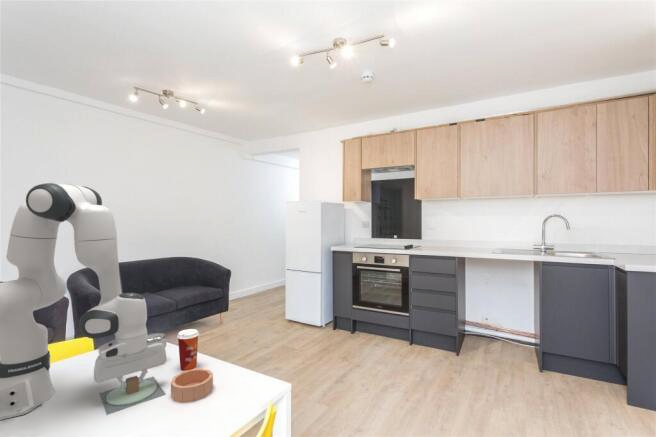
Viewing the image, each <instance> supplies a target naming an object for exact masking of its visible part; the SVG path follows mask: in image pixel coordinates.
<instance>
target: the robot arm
mask: <svg viewBox="0 0 656 437" xmlns="http://www.w3.org/2000/svg"><path fill="white" fill-rule="evenodd" d="M65 221H66V222H68V223H70V224H71V226H72V229H73V236H74V237H73V238H74V239H73V240H74V242H73V243H74V251H75V252H74V253H75V256H76V258H77V262H78V263H80V264H81V265H82V266H84V267H86V268H88V269H90V270H92V271H93V272H95V274H96V275H97V278H98V283H99V291H100V292H99V293H100V297H101V298H100V300H99V304H98V305H96V306H94V307H92V308H90V309H89V310H87V311H86V312H85V313H83V314H82V315H81V317H80V319H79V321H78V328H79V331H80V332H81V334H82V335H83V336H84V337H86V338H89V339H91V340H96V339H100V338H106V337H110V336H113V335H114V336H115V339H112V340H111V341H109V342H107V343H104V344H102V345H101V346H99V347H98V356H97V357H96V359H95V361H94V362H95V363H94V368H93V380H94V382H96V383H99V384H100V383H102V382H106V381H110V380H114V379H117V382H118V383H119V384H120V386H121V389H125V388H127V382H126V380H125V381H123V379H124V376H127V375H131V374H134V373H138V372H141V374H140V376H137V377H138V378H139V384H142V383H143V379H145V376H146V375H147V373H148V370H149V369H152V368H155V367H156V368H157V367H159V366H162V365H165V364H166V362H167V361H168V360H167V351H166V347H167V339H166V337H165V338H162V337H157V338H153V339H148V340H147V335H148V329H147V320H148V308H147V302H146V299H145V297H144V295H142V294H140V293H136V292H125V293H124V292H123V291H124V289H123V284H122V282H123V281H122V277H121V276H122V275H121V269H120V263H119V254H118V236H117V226H116V222H115V217H114V214H113V212H112V210H111V209H110V208H108V207H106V206H104V205H103V201H102V197H101V195H100V194H99V193H98V192H97V191H96V190H94V189H92V188H91V187H88V186H81V185H77V184H71V183H65V184H64V183H52V182H47V183H41V184H37V185H34V186H33V187H31V188H30V189H29V190H28V192H27V194H26V197H25V202H23V203H21V204H19V207H18V208H17V211H16V213H15V215H14V217H13V221H12V224H11V228H10V234H9V238H8V244H7V251H6V256H5V257H6V259H7V262H8V263H9V264H11V265H13V266H15V267H16V268H17V270H18V271H17V272H18V277H17V279H13V280H9V281H2V282H0V421H2V420H5V419H11V418H15V417H19V416H22V415H26V414H29V413H30V412H32V411H33V410H34V409H35V408H37V407H39V406H40V405H42V404H44V403H45V402H47V401H49V400H50V399H51V398H52V397H53V396H55V393H56V391H55V389H54V386H53V383H52V379H51V374H50V369H51V354H50V353H51V352H50V350H49V341H48V340H49V338H48V336H49V334H48V333H49V331H48V328H47V326H45V325H44V324H41V323H38V322H36V319H35V317H34V311H37V310H40V309H44V308H47V307H49V306H52V305H54V304H55V303H56V302H58V301H60V300H62V299H63V298H64V297H65V295H66V293H67V288H68V287H67V283H66V281H65V279H64V278H63V277H61V276H60V275H59V274H58V272H57V270H56V267H55V252H56V244H57V239H58V232H59V226H60V224H61V223H63V222H65Z"/></svg>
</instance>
